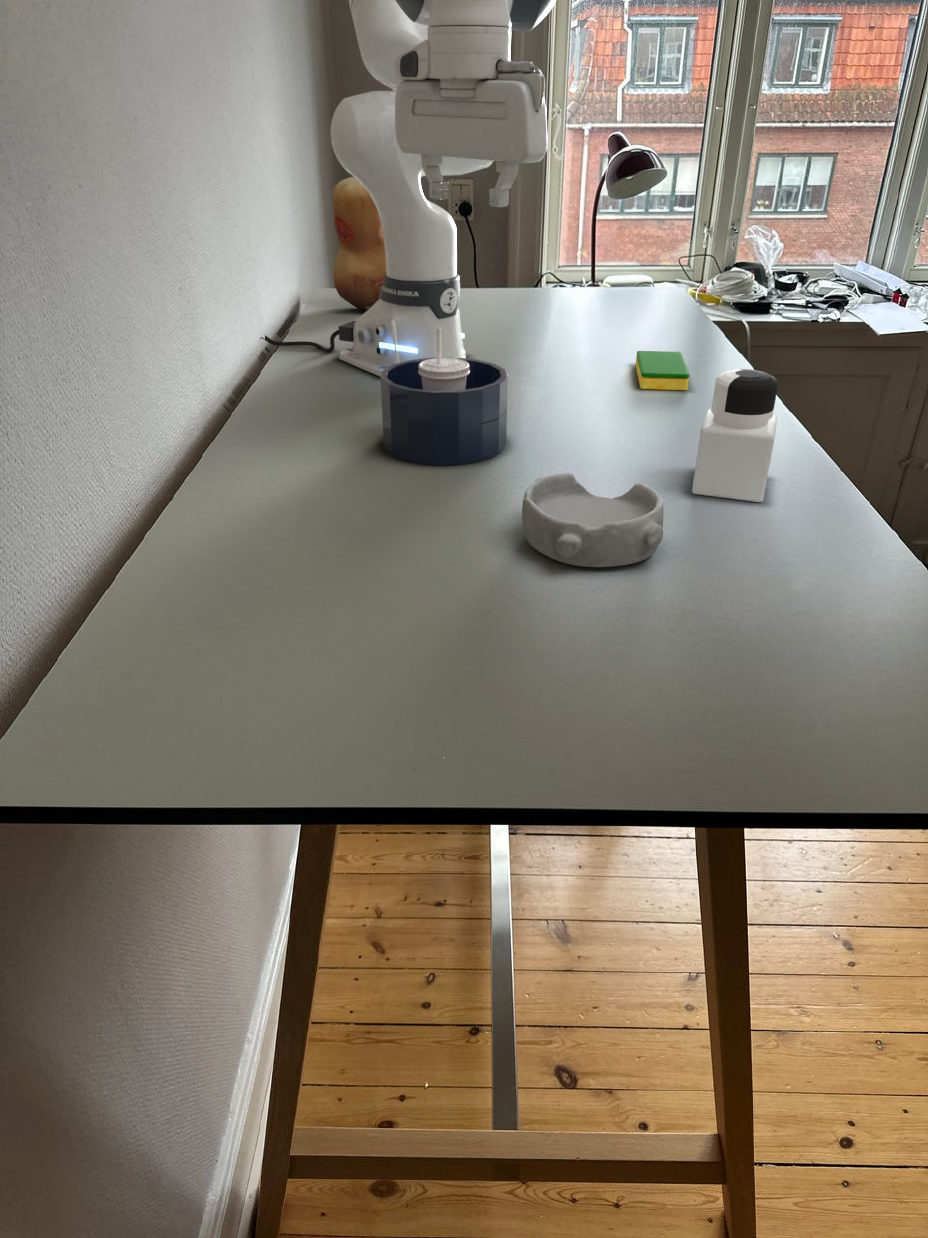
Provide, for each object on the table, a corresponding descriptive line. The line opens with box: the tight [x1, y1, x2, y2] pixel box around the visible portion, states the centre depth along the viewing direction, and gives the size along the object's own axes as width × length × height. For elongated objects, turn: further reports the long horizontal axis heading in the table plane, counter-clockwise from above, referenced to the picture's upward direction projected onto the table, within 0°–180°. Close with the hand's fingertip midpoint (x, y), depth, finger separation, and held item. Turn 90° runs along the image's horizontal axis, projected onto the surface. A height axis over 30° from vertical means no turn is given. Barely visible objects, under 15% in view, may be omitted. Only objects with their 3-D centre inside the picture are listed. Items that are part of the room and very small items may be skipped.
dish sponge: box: [635, 350, 690, 391], centre depth 140 cm, size 7×14×2 cm, turn 174°
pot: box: [380, 357, 509, 466], centre depth 112 cm, size 16×16×9 cm
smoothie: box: [418, 328, 470, 391], centre depth 111 cm, size 6×6×14 cm
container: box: [691, 368, 779, 503], centre depth 99 cm, size 8×8×13 cm
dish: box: [521, 472, 665, 568], centre depth 88 cm, size 14×14×5 cm
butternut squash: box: [332, 176, 386, 311], centre depth 177 cm, size 14×13×25 cm
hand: (468, 202), depth 102 cm, fingers open, 8 cm apart
